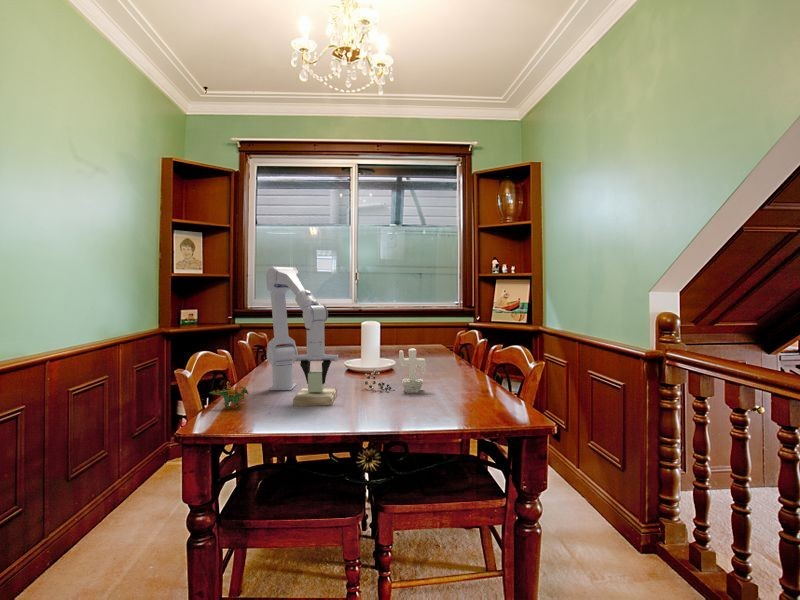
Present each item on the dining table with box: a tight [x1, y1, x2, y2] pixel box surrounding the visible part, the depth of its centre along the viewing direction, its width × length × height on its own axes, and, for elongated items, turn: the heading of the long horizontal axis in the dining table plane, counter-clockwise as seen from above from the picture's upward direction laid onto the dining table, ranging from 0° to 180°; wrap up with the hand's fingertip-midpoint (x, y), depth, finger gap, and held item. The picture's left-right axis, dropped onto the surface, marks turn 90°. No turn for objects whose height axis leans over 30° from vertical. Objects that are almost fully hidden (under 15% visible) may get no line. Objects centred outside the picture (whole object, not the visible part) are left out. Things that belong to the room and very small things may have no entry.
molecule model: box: [361, 368, 395, 393], centre depth 161 cm, size 6×12×8 cm, turn 73°
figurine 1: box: [209, 381, 249, 410], centre depth 138 cm, size 3×12×8 cm, turn 90°
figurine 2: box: [398, 347, 427, 394], centre depth 159 cm, size 7×9×15 cm
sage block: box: [307, 370, 325, 392], centre depth 147 cm, size 4×4×6 cm
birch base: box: [292, 386, 338, 407], centre depth 148 cm, size 14×12×2 cm
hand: (316, 383), depth 148 cm, fingers closed on sage block, 4 cm apart
